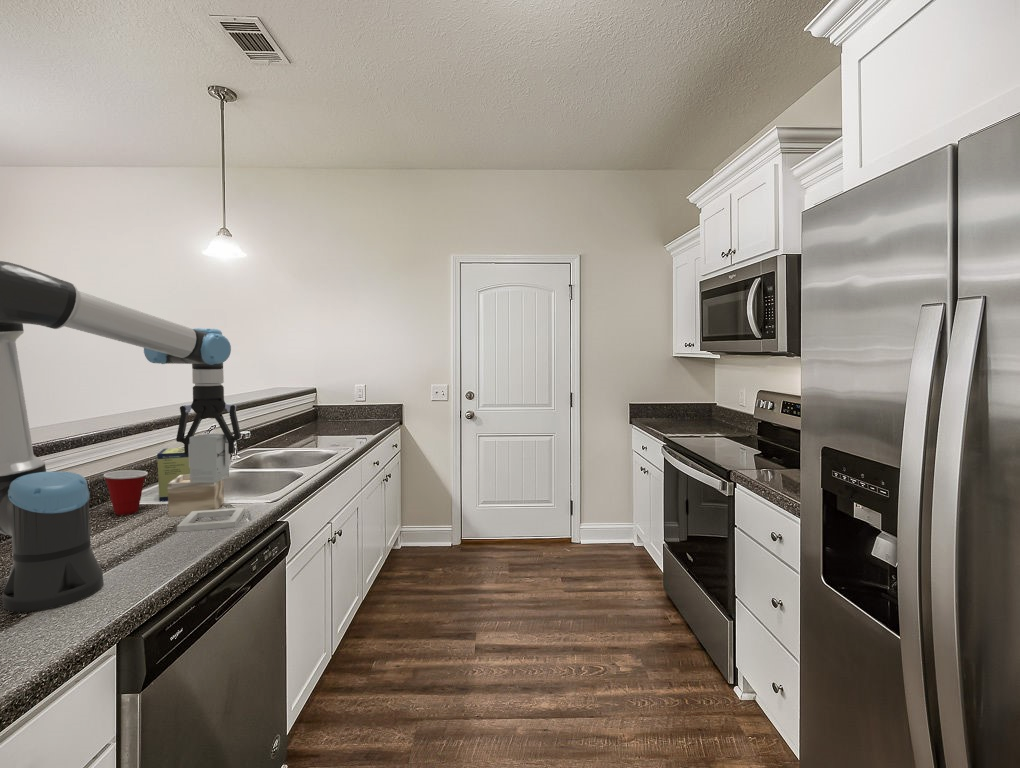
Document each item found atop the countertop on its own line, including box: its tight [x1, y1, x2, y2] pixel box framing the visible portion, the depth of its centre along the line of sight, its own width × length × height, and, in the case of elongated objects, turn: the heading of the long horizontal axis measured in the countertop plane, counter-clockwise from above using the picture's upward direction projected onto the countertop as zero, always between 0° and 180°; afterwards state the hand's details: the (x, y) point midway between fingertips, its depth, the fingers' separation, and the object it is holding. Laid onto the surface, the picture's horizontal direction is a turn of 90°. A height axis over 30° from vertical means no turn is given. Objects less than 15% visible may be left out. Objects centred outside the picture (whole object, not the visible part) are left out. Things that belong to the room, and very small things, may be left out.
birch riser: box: [167, 474, 225, 517], centre depth 164 cm, size 12×12×10 cm
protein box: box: [156, 447, 190, 502], centre depth 179 cm, size 10×16×16 cm
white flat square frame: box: [176, 507, 246, 533], centre depth 152 cm, size 14×14×2 cm
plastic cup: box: [103, 469, 149, 516], centre depth 160 cm, size 11×11×12 cm
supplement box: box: [189, 433, 230, 483], centre depth 150 cm, size 7×7×13 cm
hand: (210, 466), depth 151 cm, fingers closed on supplement box, 8 cm apart
